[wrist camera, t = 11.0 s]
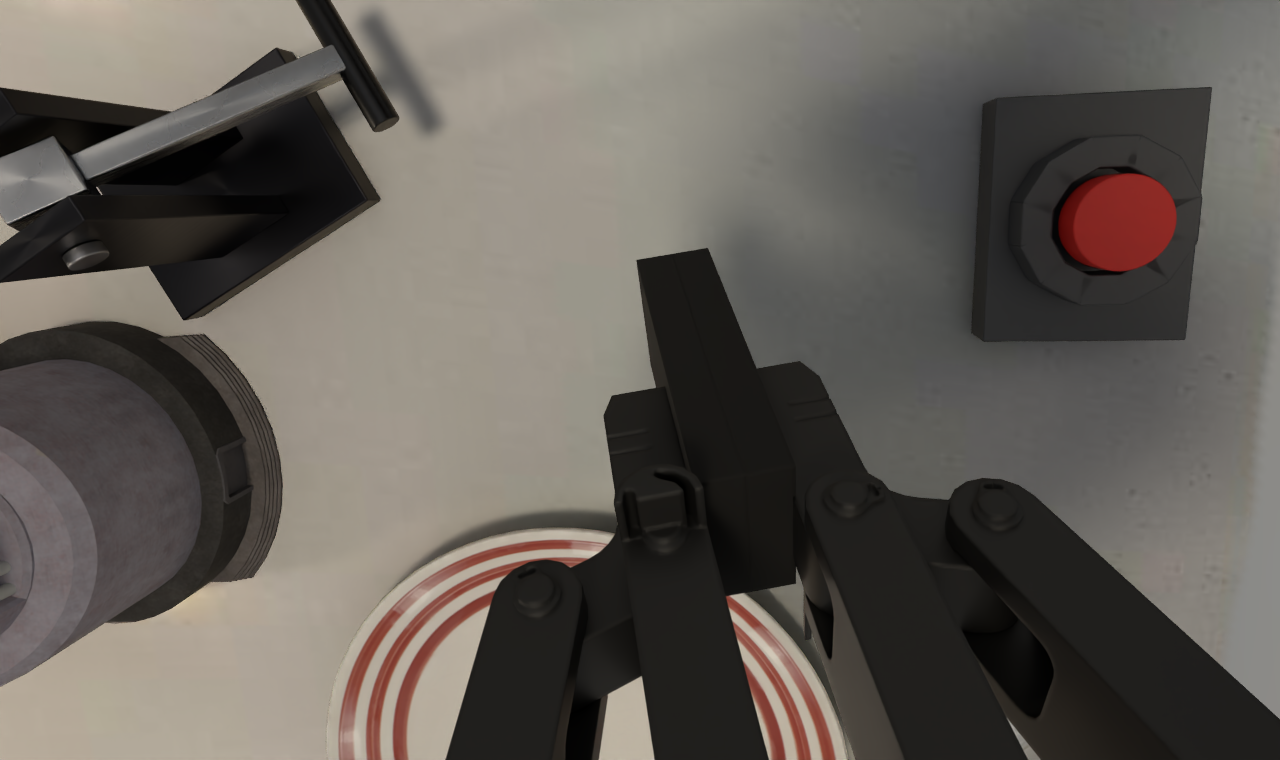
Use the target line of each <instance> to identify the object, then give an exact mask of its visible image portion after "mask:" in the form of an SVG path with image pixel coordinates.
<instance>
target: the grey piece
mask: <svg viewBox="0 0 1280 760" xmlns="http://www.w3.org/2000/svg"><path fill="white" fill-rule="evenodd" d="M281 498H282V478H281V469H280V460H279V455H278V451H277V447H276V444H275V440H274V436H273V432H272V429H271V427H270V424H269V422H268V420H267V418H266V415H265V413H264V411H263V408H262V406H261V404H260V402H259V400H258V399H257V397H256V395H255V394H254V392H253V390H252V389H251V387H250V386H249V384H248V382H247V381H246V379H245V377H244V376H243V375H242V374H241V373H240V371H239V370H238V369H237V368H236V367H235V365H234V364H233V363H232V362H231V361H230V359H229V358H228V357H227V356H226V355H225V354H224V353H223V352H222V351H221V350H220V349H219V348H218V347H217V346H216V345H214V344H213V343H212V342H211V341H210V340H209V339H208V338H207V337H206V336H205V335H188V336H173V337H162V336H160V335H157V334H155V333H152V332H150V331H148V330H145V329H143V328H140V327H136V326H131V325H127V324H122V323H117V322H86V323H80V324H75V325H69V326H64V327H58V328H52V329H47V330H41V331H36V332H30V333H27V334H24V335H20V336H17V337H14V338H11V339H9V340H7V341H5V342H3V343H1V344H0V686H2V685H4V684H6V683H8V682H10V681H12V680H14V679H16V678H18V677H20V676H22V675H24V674H26V673H28V672H30V671H31V670H33V669H34V668H36V667H37V666H39V665H40V664H42V663H43V662H45V661H47V660H48V659H50V658H51V657H53V656H54V655H56V654H57V653H59V652H60V651H62V650H64V649H65V648H67V647H68V646H70V645H71V644H73V643H74V642H76V641H77V640H79V639H81V638H82V637H84V636H85V635H87V634H88V633H90V632H91V631H93V630H95V629H96V628H98V627H99V626H101V625H102V624H104V623H115V624H116V623H127V622H136V621H140V620H144V619H147V618H151V617H155V616H157V615H159V614H161V613H163V612H165V611H167V610H169V609H171V608H173V607H174V606H176V605H177V604H179V603H180V602H182V601H183V600H185V599H186V598H187V597H189V596H190V595H192V594H193V593H195V592H196V591H198V590H199V589H200V588H202V587H203V586H205V585H206V584H208V583H209V582H231V581H237V580H242V579H247V578H252V577H253V576H254V575H255V573H256V572H257V570H258V569H259V567H260V566H261V564H262V563H263V561H264V560H265V558H266V556H267V554H268V551H269V549H270V547H271V544H272V542H273V540H274V537H275V535H276V530H277V526H278V521H279V517H280V512H281Z"/></svg>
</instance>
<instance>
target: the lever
mask: <svg viewBox="0 0 1280 760" xmlns="http://www.w3.org/2000/svg"><path fill="white" fill-rule="evenodd" d="M296 2H297V3H298V5H299V7H300V9H301V10H302V12H303V14H304V15H305V17H306V19H307V20H308V22H309V24H310V25H311V27H312V29H313V30H314V32H315V34H316V36H317V37H318V39H319V41H320V42H321V44H322V46H323V47H324V48H322V49H320V50H318V51H315V52H313V53H310V54H308V55H306V56H303V57H301V58H299V59H296V60H294V61H291V62H289V63H287V64H284V65H282V66H280V67H277V68H275V69H272V70H270V71H268V72H265V73H263V74H261V75H258V76H256V77H253V78H251V79H249V80H246V81H244V82H241V83H239V84H237V85H234V86H232V87H230V88H227V89H225V90H222V91H220V92H218V93H215V94H213V95H211V96H208V97H206V98H203V99H201V100H199V101H196V102H194V103H192V104H189V105H187V106H184V107H182V108H180V109H177V110H175V111H173V112H170V113H168V114H165V115H163V116H161V117H158V118H156V119H154V120H151V121H149V122H146V123H144V124H142V125H139V126H137V127H135V128H132V129H130V130H127V131H125V132H123V133H120V134H118V135H115V136H113V137H111V138H108V139H106V140H104V141H101V142H99V143H96V144H94V145H92V146H89V147H87V148H85V149H82V150H80V151H77V152H75V153H72V152H71V151H70V150H69V149H67V148H66V147H65V146H64V145H63V144H62V143H61V142H60V141H59V140H58V139H56V138H55V137H54V136H49V137H47V138H44V139H42V140H40V141H37V142H35V143H32V144H30V145H27V146H25V147H23V148H20V149H18V150H15V151H13V152H10V153H8V154H6V155H3V156H1V157H0V215H1V217H2V219H3V220H4V222H5V223H6V224H7V225H9V226H11V227H12V228H14V229H16V230H18V231H21V230H22V229H24V228H25V227H26V226H28V225H29V224H30V223H32V222H33V221H34V220H36V219H37V218H38V217H40V216H41V215H43V214H44V213H45V212H47V211H48V210H49V209H51V208H52V207H53V206H55V205H56V204H58V203H59V202H60V201H62V200H63V199H64V198H66V197H67V196H69V195H101V194H100V193H99V191H98V190H97V188H96V187H98V186H100V185H102V184H104V183H107V182H109V181H111V180H114V179H116V178H118V177H121V176H123V175H125V174H127V173H130V172H132V171H134V170H137V169H139V168H141V167H143V166H146V165H148V164H150V163H153V162H155V161H157V160H160V159H162V158H164V157H166V156H169V155H171V154H173V153H176V152H178V151H180V150H182V149H185V148H187V147H189V146H192V145H194V144H196V143H199V142H201V141H203V140H205V139H208V138H210V137H212V136H215V135H217V134H219V133H221V132H224V131H226V130H228V129H231V128H233V127H235V126H238V125H240V124H242V123H244V122H247V121H249V120H251V119H254V118H256V117H258V116H260V115H263V114H265V113H267V112H270V111H272V110H274V109H277V108H279V107H281V106H283V105H286V104H288V103H290V102H293V101H295V100H297V99H299V98H302V97H304V96H306V95H309V94H311V93H313V92H316V91H318V90H320V89H322V88H325V87H327V86H329V85H332V84H334V83H336V82H338V81H341V80H343V81H344V83H345V84H346V86H347V88H348V90H349V91H350V93H351V95H352V96H353V98H354V100H355V101H356V103H357V105H358V106H359V108H360V110H361V111H362V113H363V115H364V117H365V118H366V120H367V122H368V123H369V125H370V127H371V128H372V130H373V131H374V132H381V131H384V130H386V129H388V128H390V127H392V126H393V125H394V124H396V123H397V122H398V120H399V116H398V114H397V112H396V111H395V109H394V107H393V106H392V104H391V102H390V100H389V99H388V97H387V95H386V94H385V92H384V90H383V88H382V87H381V85H380V83H379V82H378V80H377V78H376V77H375V75H374V73H373V71H372V70H371V68H370V66H369V65H368V63H367V61H366V60H365V58H364V56H363V54H362V53H361V51H360V49H359V48H358V46H357V44H356V43H355V41H354V39H353V37H352V36H351V34H350V32H349V31H348V29H347V27H346V25H345V24H344V22H343V20H342V19H341V17H340V15H339V14H338V12H337V10H336V8H335V7H334V5H333V3H332V2H331V0H296Z"/></svg>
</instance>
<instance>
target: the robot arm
mask: <svg viewBox="0 0 1280 760" xmlns="http://www.w3.org/2000/svg"><path fill="white" fill-rule="evenodd" d="M637 267H638V275H639V282H640V289H641V296H642V304H643V311H644V318H645V326H646V333H647V340H648V348H649V355H650V362H651V367H652V372H653V376H654V380H655V384H656V388H653V389H647V390H642V391H636V392H630V393H625V394H619V395H613V396H612V397H611V399H610V402H609V404H608V406H607V409H606V411H605V413H604V422H605V429H606V435H607V442H608V449H609V455H610V462H611V469H612V475H613V482H614V489H615V498H614V507H615V512H616V517H617V522H618V526H617V529H616V532H615V535H614V536H613V538H612V539H611V541H610V542H609V544H608V545H607V546H606V547H604V548H603V549H602V550H601V551H600V552H599V553H597V554H596V555H594V556H592V557H591V558H589V559H587V560H585V561H583V562H581V563H579V564H577V565H575V566H573V567H571V568H570V567H569V566H567V565H566V564H564V563H562V562H558V561H553V560H547V559H545V560H538V561H532V562H528V563H526V564H524V565H521V566H519V567H517V568H515V569H513V570H512V571H511V572H510V573H509V574H508V575H507V576H506V577H504V578H503V579H502V580H501V581H500V583H499V585H498V587H497V589H496V591H495V593H494V595H493V598H492V601H491V605H490V608H489V611H488V615H487V618H486V622H485V625H484V629H483V632H482V636H481V639H480V642H479V646H478V649H477V653H476V656H475V660H474V663H473V667H472V670H471V673H470V677H469V680H468V684H467V687H466V691H465V694H464V698H463V701H462V704H461V708H460V711H459V715H458V718H457V722H456V725H455V728H454V732H453V735H452V739H451V742H450V746H449V749H448V753H447V756H446V759H445V760H599V755H600V748H601V741H602V735H603V728H604V721H605V714H606V707H607V700H608V694H609V693H611V692H613V691H615V690H617V689H619V688H621V687H622V686H624V685H626V684H628V683H630V682H632V681H634V680H635V679H637V678H639V677H641V676H642V681H643V687H644V694H645V700H646V707H647V714H648V720H649V727H650V733H651V740H652V746H653V753H654V759H655V760H769V758H768V754H767V750H766V746H765V743H764V739H763V735H762V731H761V728H760V724H759V720H758V716H757V712H756V709H755V705H754V701H753V697H752V694H751V690H750V686H749V682H748V678H747V675H746V671H745V667H744V663H743V659H742V656H741V652H740V648H739V644H738V641H737V637H736V633H735V629H734V625H733V622H732V618H731V614H730V610H729V607H728V603H727V599H726V596H731V595H736V594H741V593H747V592H752V591H758V590H763V589H769V588H774V587H780V586H785V585H791V584H796V567H797V570H798V573H799V575H800V578H801V581H802V584H803V587H804V638H805V640H809V639H811V635H812V634H813V637H814V640H815V643H816V645H817V648H818V651H819V654H820V657H821V660H822V663H823V666H824V669H825V672H826V675H827V677H828V680H829V683H830V686H831V689H832V692H833V695H834V698H835V701H836V704H837V707H838V710H839V712H840V715H841V718H842V721H843V724H844V727H845V730H846V733H847V736H848V739H849V742H850V744H851V747H852V750H853V753H854V756H855V759H856V760H1028V758H1027V756H1026V754H1025V753H1024V751H1023V749H1022V747H1021V745H1020V743H1019V741H1018V739H1017V737H1016V735H1015V733H1014V731H1013V729H1012V727H1011V725H1010V723H1009V721H1010V722H1011V723H1012V725H1013V726H1014V727H1015V728H1016V730H1017V731H1018V732H1019V733H1020V735H1021V736H1022V737H1023V738H1024V740H1025V741H1026V742H1027V743H1028V744H1029V746H1030V747H1031V748H1032V749H1033V751H1034V752H1035V753H1036V754H1037V756H1038V757H1039V758H1040V759H1041V760H1280V719H1279V718H1278V717H1277V716H1276V715H1274V714H1273V713H1272V712H1271V711H1270V710H1269V709H1268V708H1267V707H1266V706H1265V705H1264V704H1262V703H1261V702H1260V701H1259V700H1258V699H1257V698H1256V697H1255V696H1254V695H1252V694H1251V693H1250V692H1249V691H1248V690H1247V689H1246V688H1245V687H1244V686H1243V685H1242V684H1240V683H1239V682H1238V681H1237V680H1236V679H1235V678H1234V677H1233V676H1232V675H1231V674H1230V673H1228V672H1227V671H1226V670H1225V669H1224V668H1223V667H1222V666H1221V665H1220V664H1219V663H1217V662H1216V661H1215V660H1214V659H1213V658H1212V657H1211V656H1210V655H1209V654H1208V653H1206V652H1205V651H1204V650H1203V649H1202V648H1201V647H1200V646H1199V645H1198V644H1197V643H1195V642H1194V641H1193V640H1192V639H1191V638H1190V637H1189V636H1188V635H1187V634H1186V633H1185V632H1183V631H1182V630H1181V629H1180V628H1179V627H1178V626H1177V625H1176V624H1175V623H1174V622H1172V621H1171V620H1170V619H1169V618H1168V617H1167V616H1166V615H1165V614H1164V613H1163V612H1161V611H1160V610H1159V609H1158V608H1157V607H1156V606H1155V605H1154V604H1153V603H1152V602H1151V601H1149V600H1148V599H1147V598H1146V597H1145V596H1144V595H1143V594H1142V593H1141V592H1140V591H1138V590H1137V589H1136V588H1135V587H1134V586H1133V585H1132V584H1131V583H1130V582H1129V581H1127V580H1126V579H1125V578H1124V577H1123V576H1122V575H1121V574H1120V573H1119V572H1118V571H1117V570H1115V569H1114V568H1113V567H1112V566H1111V565H1110V564H1109V563H1108V562H1107V561H1106V560H1104V559H1103V558H1102V557H1101V556H1100V555H1099V554H1098V553H1097V552H1096V551H1095V550H1093V549H1092V548H1091V547H1090V546H1089V545H1088V544H1087V543H1086V542H1085V541H1084V540H1083V539H1081V538H1080V537H1079V536H1078V535H1077V534H1076V533H1075V532H1074V531H1073V530H1072V529H1070V528H1069V527H1068V526H1067V525H1066V524H1065V523H1064V522H1063V521H1062V520H1061V519H1059V518H1058V517H1057V516H1056V515H1055V514H1054V513H1053V512H1052V511H1051V510H1050V509H1048V508H1047V507H1046V506H1045V505H1044V504H1043V503H1042V502H1041V501H1040V500H1039V499H1038V498H1036V497H1035V496H1034V495H1033V494H1031V493H1030V492H1028V491H1027V490H1025V489H1024V488H1022V487H1021V486H1019V485H1017V484H1014V483H1011V482H1008V481H1005V480H1002V479H990V478H981V479H976V480H971V481H967V482H965V483H964V484H962V485H961V486H959V487H958V488H956V489H955V490H954V492H953V494H952V496H951V498H950V499H949V500H942V499H929V498H917V497H911V496H905V495H902V494H899V493H896V492H893V491H890V490H889V489H888V488H887V487H886V485H885V484H884V483H883V482H882V481H881V480H879V479H877V478H876V477H874V476H872V475H871V474H869V473H868V472H867V470H866V469H865V467H864V465H863V463H862V461H861V459H860V457H859V455H858V453H857V451H856V449H855V447H854V445H853V443H852V441H851V439H850V437H849V435H848V433H847V431H846V429H845V427H844V425H843V423H842V421H841V419H840V417H839V415H838V414H837V413H836V409H835V407H834V405H833V403H832V401H831V399H829V395H828V393H827V391H826V389H825V387H824V385H823V383H822V381H821V379H820V377H819V376H818V375H817V374H816V373H814V372H813V371H812V370H811V369H809V368H808V367H807V366H805V365H804V364H803V363H801V362H800V361H798V362H792V363H786V364H780V365H775V366H769V367H763V368H757V369H756V366H755V364H754V361H753V359H752V356H751V354H750V351H749V349H748V346H747V344H746V341H745V339H744V336H743V334H742V331H741V329H740V326H739V324H738V322H737V319H736V317H735V314H734V312H733V309H732V307H731V304H730V302H729V299H728V297H727V294H726V292H725V289H724V287H723V284H722V282H721V279H720V277H719V275H718V272H717V270H716V267H715V265H714V262H713V260H712V257H711V255H710V252H709V250H708V248H705V249H699V250H693V251H687V252H681V253H676V254H670V255H664V256H658V257H652V258H646V259H640V260H637ZM1008 720H1009V721H1008Z"/></svg>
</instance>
